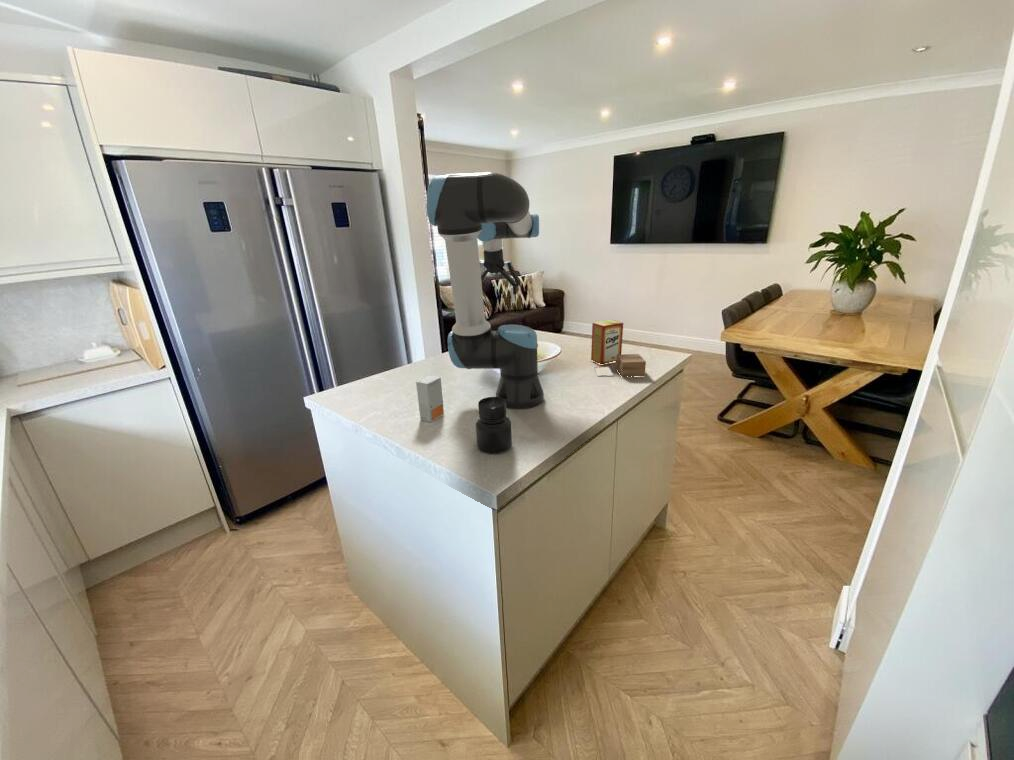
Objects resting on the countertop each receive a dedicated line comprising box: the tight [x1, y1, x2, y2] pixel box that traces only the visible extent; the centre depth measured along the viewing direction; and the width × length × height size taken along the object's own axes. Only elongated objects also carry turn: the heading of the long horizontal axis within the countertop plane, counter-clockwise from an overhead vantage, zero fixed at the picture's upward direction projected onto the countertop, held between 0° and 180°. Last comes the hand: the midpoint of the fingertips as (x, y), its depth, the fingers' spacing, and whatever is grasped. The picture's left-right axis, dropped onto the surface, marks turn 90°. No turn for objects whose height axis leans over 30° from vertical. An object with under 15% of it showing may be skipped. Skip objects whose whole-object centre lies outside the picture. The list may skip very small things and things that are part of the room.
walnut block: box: [615, 353, 647, 377], centre depth 144 cm, size 9×8×6 cm
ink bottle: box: [475, 396, 513, 455], centre depth 98 cm, size 10×9×12 cm
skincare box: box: [415, 375, 445, 423], centre depth 115 cm, size 6×4×12 cm
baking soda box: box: [590, 319, 624, 364], centre depth 156 cm, size 10×6×16 cm
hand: (497, 301), depth 164 cm, fingers open, 13 cm apart
